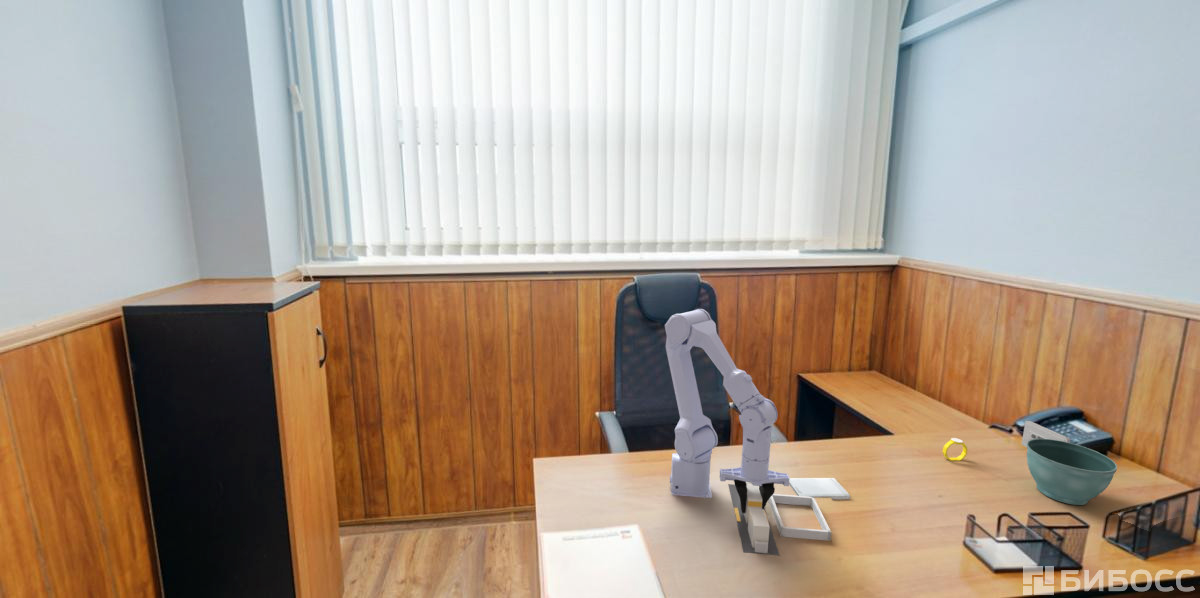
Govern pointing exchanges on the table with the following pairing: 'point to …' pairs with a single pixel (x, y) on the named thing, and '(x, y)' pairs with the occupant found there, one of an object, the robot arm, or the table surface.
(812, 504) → the tray
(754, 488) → the block
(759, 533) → the block
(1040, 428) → the cassette
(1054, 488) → the teal green bowl
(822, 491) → the hard drive
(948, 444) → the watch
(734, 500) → the block
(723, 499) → the table surface
